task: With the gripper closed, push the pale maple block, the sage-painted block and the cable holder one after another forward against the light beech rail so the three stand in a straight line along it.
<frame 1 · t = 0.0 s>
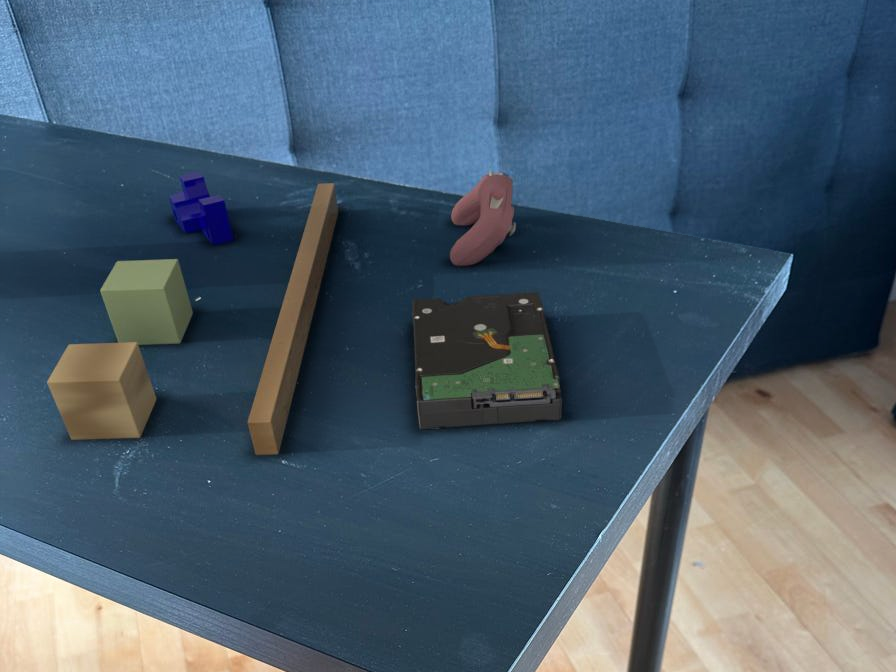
maple block: (116, 422, 69), on the table
rail: (304, 315, 78), on the table
sage block: (158, 332, 77), on the table
disk drive: (483, 376, 71), on the table
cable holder: (204, 234, 90), on the table
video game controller: (483, 247, 86), on the table
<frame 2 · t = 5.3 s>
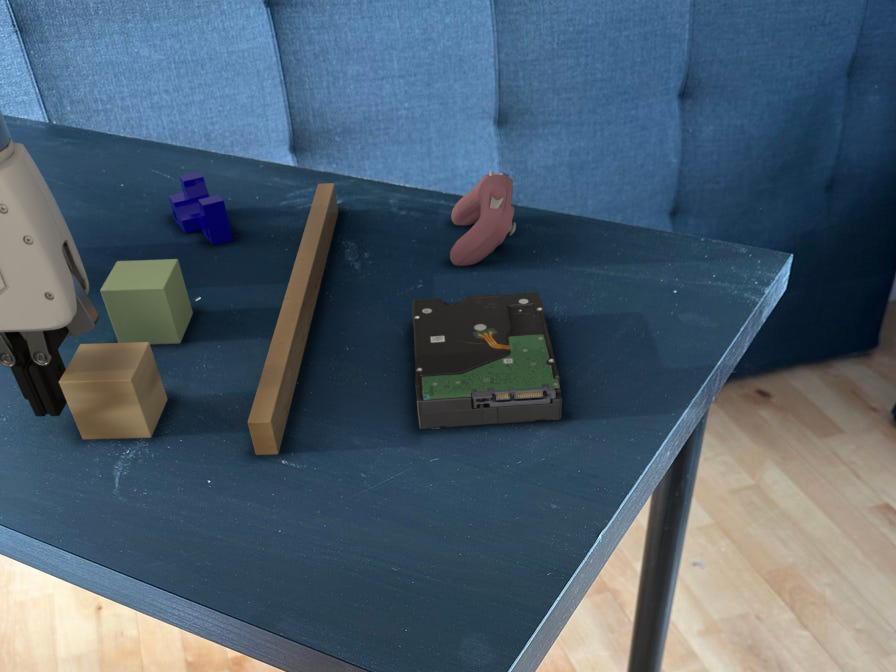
hand: (54, 405, 67), 2 cm above the table, tool pointing down, fingers closed
maple block: (127, 422, 69), on the table, touching gripper
everything else where it was.
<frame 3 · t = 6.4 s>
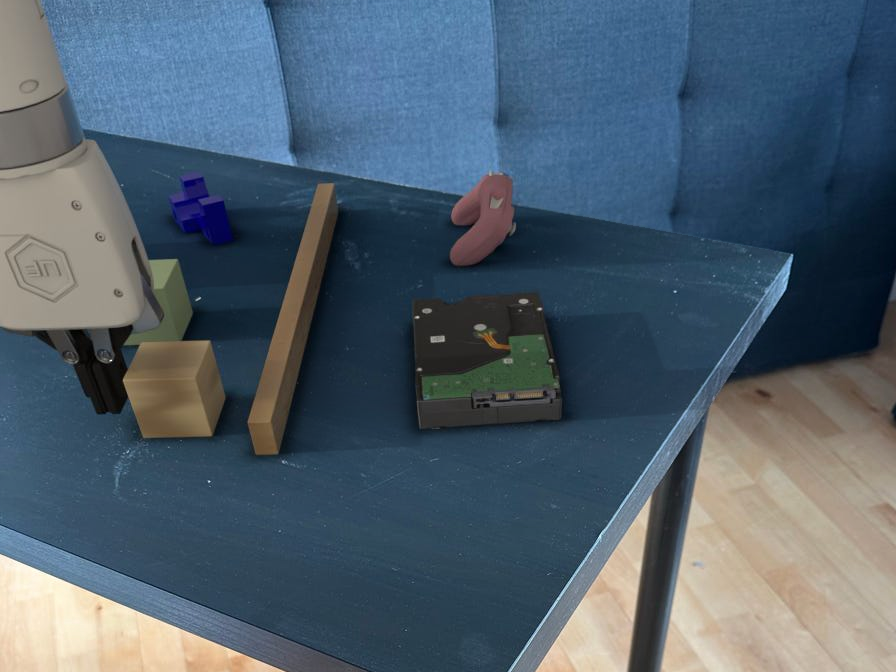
hand: (114, 403, 67), 2 cm above the table, tool pointing down, fingers closed
maple block: (186, 420, 68), on the table, touching gripper
everything else where it was.
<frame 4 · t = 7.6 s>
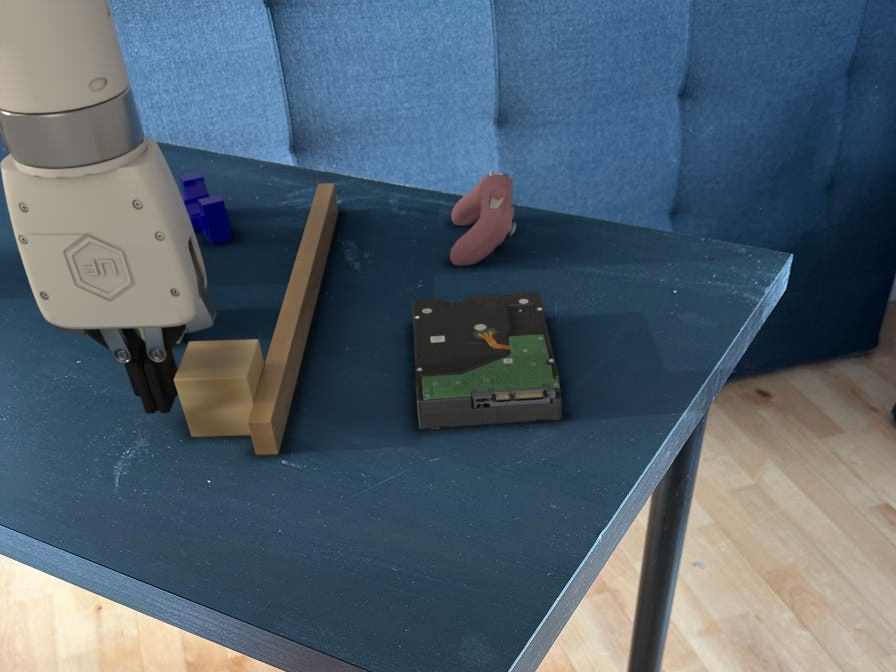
hand: (162, 402, 67), 2 cm above the table, tool pointing down, fingers closed
maple block: (233, 420, 68), on the table, touching gripper, rail
everything else where it was.
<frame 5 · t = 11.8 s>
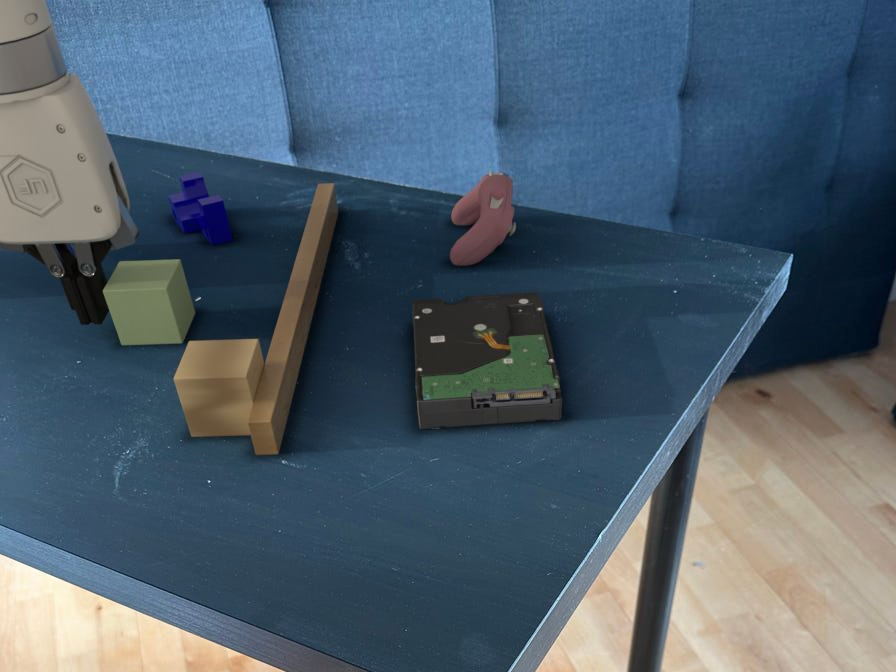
hand: (96, 316, 76), 2 cm above the table, tool pointing down, fingers closed
maple block: (233, 419, 68), on the table
sage block: (160, 332, 77), on the table, touching gripper
everything else where it was.
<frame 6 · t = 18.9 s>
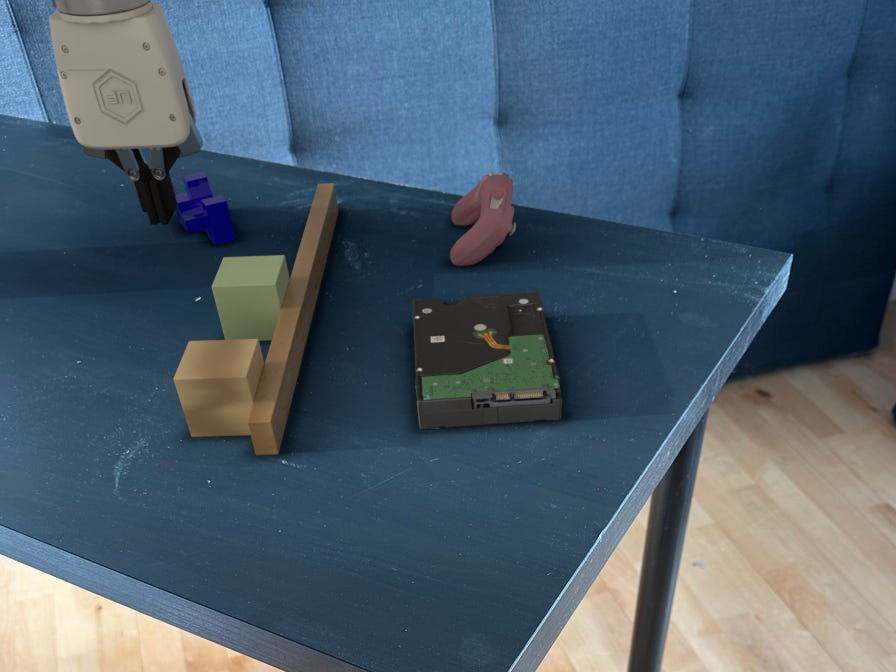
hand: (162, 218, 89), 1 cm above the table, tool pointing down, fingers closed
maple block: (233, 419, 68), on the table, touching rail
sage block: (262, 328, 77), on the table
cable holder: (207, 234, 90), on the table, touching gripper
everything else where it was.
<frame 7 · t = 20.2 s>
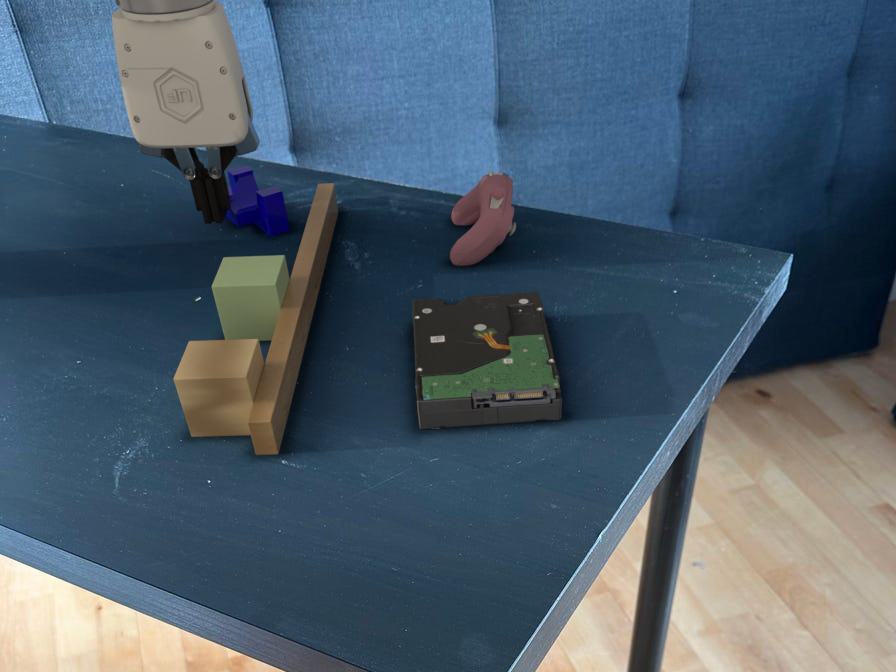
hand: (216, 217, 89), 1 cm above the table, tool pointing down, fingers closed
sage block: (262, 328, 77), on the table, touching rail
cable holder: (256, 227, 91), on the table, touching gripper
everything else where it was.
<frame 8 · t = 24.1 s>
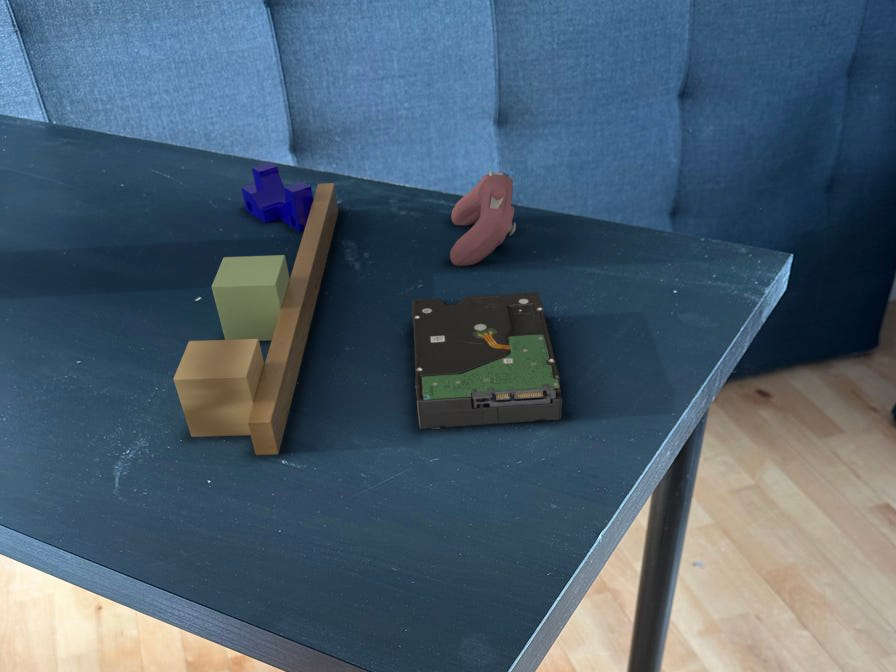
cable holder: (282, 223, 92), on the table
everything else where it was.
at the end: maple block 0.1 cm from the target spot on the table beside the rail, on the table; sage block 0.0 cm from the target spot on the table beside the rail, on the table; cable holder 2.4 cm from the target spot on the table beside the rail, on the table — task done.
